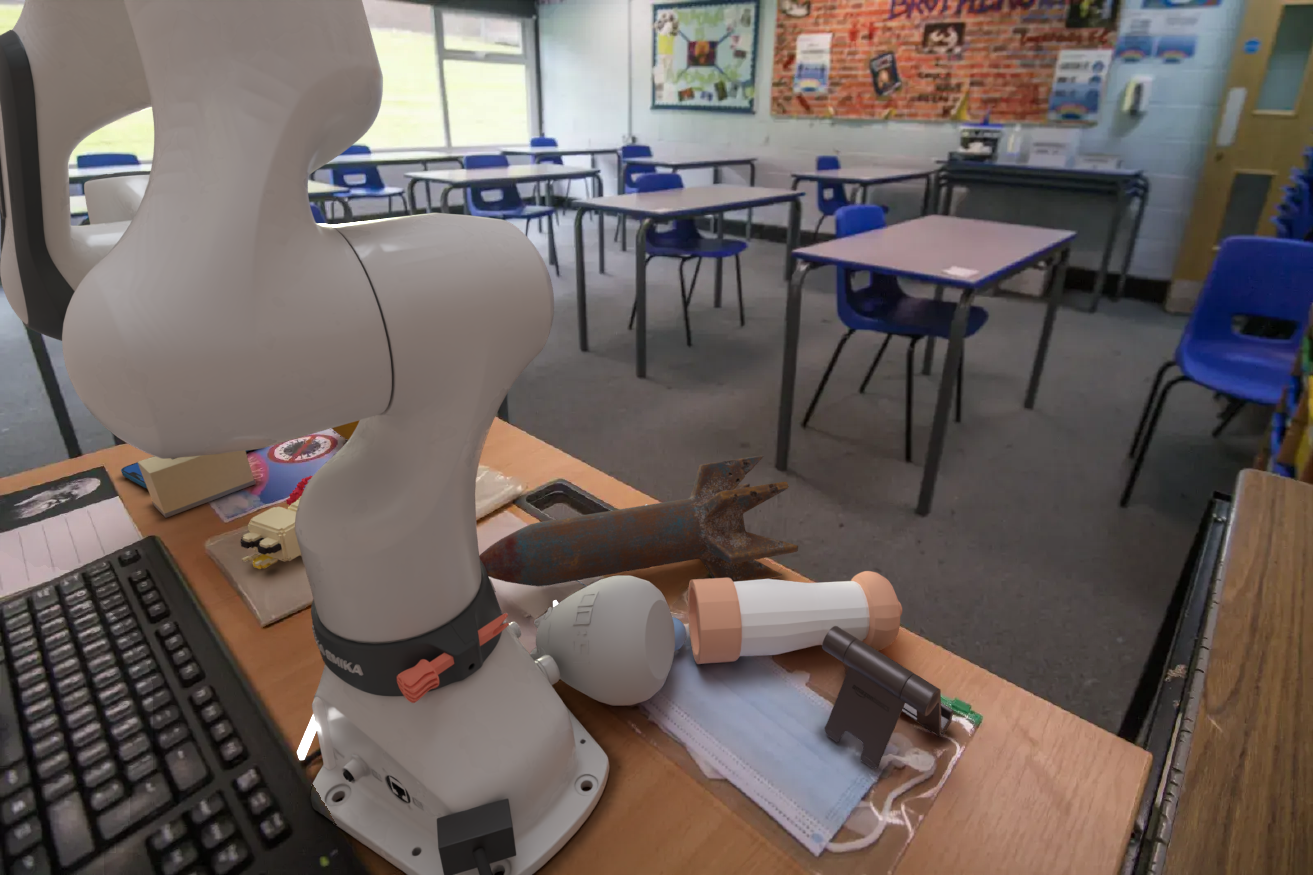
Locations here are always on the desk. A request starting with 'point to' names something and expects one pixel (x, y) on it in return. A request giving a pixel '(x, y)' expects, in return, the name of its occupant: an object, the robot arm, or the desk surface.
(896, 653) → the desk surface
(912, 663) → the desk surface
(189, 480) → the block
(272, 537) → the blocky cream chicken toy
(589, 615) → the grey space capsule
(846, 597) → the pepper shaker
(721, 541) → the rusty missile
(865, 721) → the tablet stand
